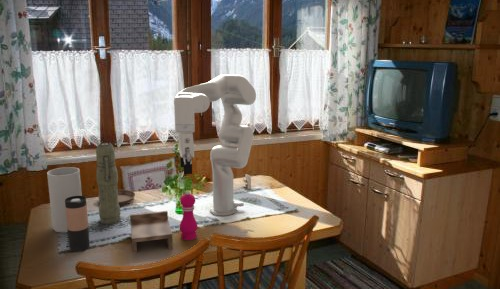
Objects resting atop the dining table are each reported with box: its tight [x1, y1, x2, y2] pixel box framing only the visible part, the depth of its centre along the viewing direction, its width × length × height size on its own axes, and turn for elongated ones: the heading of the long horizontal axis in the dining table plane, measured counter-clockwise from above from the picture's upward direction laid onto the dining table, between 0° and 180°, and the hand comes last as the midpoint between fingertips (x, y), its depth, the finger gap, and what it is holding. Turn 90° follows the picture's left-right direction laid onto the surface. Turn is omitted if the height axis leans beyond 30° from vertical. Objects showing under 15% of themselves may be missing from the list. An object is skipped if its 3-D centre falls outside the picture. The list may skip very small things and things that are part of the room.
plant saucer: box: [98, 189, 136, 206], centre depth 223 cm, size 18×18×3 cm
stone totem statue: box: [95, 142, 121, 225], centre depth 195 cm, size 9×12×35 cm
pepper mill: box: [179, 190, 199, 241], centre depth 180 cm, size 7×7×20 cm
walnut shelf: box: [129, 210, 174, 254], centre depth 177 cm, size 15×17×9 cm
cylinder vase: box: [46, 166, 83, 234], centre depth 189 cm, size 12×12×25 cm
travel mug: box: [65, 195, 91, 253], centre depth 171 cm, size 8×8×20 cm
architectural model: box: [239, 173, 252, 190], centre depth 243 cm, size 3×7×7 cm, turn 29°
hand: (186, 170), depth 176 cm, fingers open, 9 cm apart
